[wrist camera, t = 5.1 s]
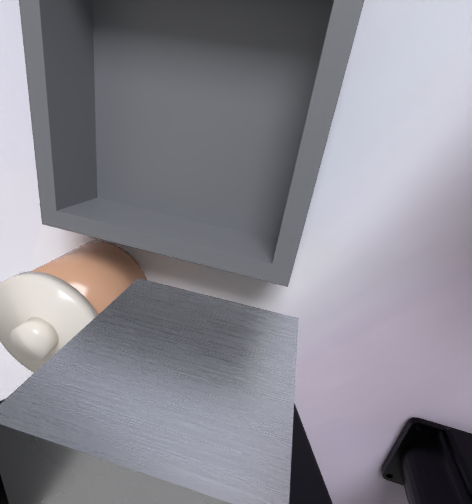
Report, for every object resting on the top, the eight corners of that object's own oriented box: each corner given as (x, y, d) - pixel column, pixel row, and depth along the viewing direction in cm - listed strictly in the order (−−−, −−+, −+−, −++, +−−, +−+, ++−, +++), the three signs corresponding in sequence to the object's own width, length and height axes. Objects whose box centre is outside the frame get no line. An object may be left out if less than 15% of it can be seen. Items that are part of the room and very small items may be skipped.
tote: (293, 253, 19) (287, 286, 15) (93, 205, 21) (42, 223, 17) (367, -32, 14) (391, -100, 9) (86, -59, 16) (5, -126, 11)
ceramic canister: (149, 332, 24) (87, 409, 18) (70, 309, 26) (-17, 373, 19) (153, 252, 22) (82, 307, 15) (64, 229, 23) (-40, 271, 16)
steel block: (266, 432, 11) (236, 650, 6) (136, 392, 12) (26, 564, 7) (298, 317, 9) (287, 522, 4) (138, 278, 9) (-17, 418, 5)
